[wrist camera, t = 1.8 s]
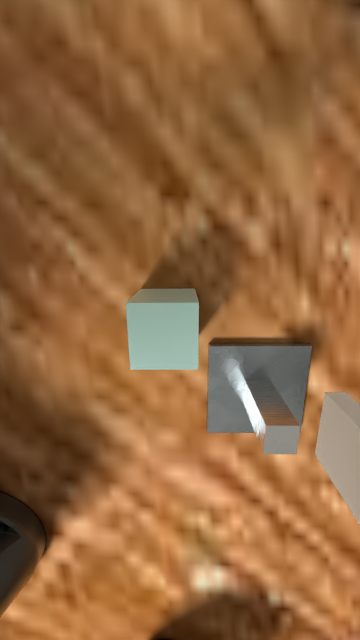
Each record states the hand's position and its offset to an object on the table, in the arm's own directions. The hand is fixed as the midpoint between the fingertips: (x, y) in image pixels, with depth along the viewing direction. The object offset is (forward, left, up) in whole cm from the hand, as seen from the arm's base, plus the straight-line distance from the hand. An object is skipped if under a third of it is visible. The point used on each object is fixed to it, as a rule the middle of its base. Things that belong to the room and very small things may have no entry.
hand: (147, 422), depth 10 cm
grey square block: (+9, -8, -16) cm, 20 cm away
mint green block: (0, 0, -16) cm, 16 cm away
